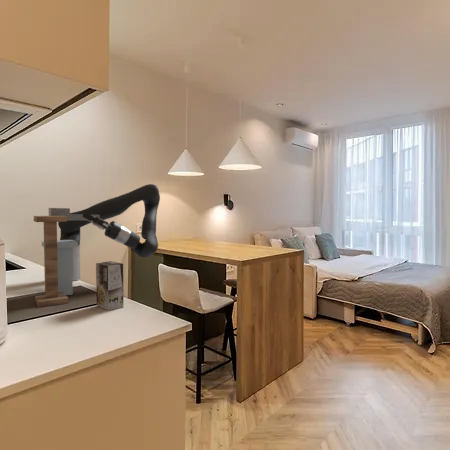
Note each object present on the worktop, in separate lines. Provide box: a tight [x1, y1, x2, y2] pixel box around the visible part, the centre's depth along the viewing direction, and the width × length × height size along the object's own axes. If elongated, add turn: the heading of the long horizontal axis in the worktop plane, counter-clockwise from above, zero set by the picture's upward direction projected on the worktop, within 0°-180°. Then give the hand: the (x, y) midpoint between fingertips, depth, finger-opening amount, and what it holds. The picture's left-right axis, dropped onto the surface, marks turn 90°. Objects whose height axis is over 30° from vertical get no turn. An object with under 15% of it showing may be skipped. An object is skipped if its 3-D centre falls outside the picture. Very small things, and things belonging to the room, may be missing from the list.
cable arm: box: [48, 207, 100, 221], centre depth 148 cm, size 7×20×5 cm, turn 124°
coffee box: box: [95, 260, 125, 311], centre depth 127 cm, size 9×6×16 cm
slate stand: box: [41, 239, 78, 296], centre depth 145 cm, size 12×12×22 cm
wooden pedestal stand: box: [33, 215, 69, 308], centre depth 132 cm, size 10×10×33 cm
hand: (83, 214), depth 149 cm, fingers closed on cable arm, 3 cm apart
